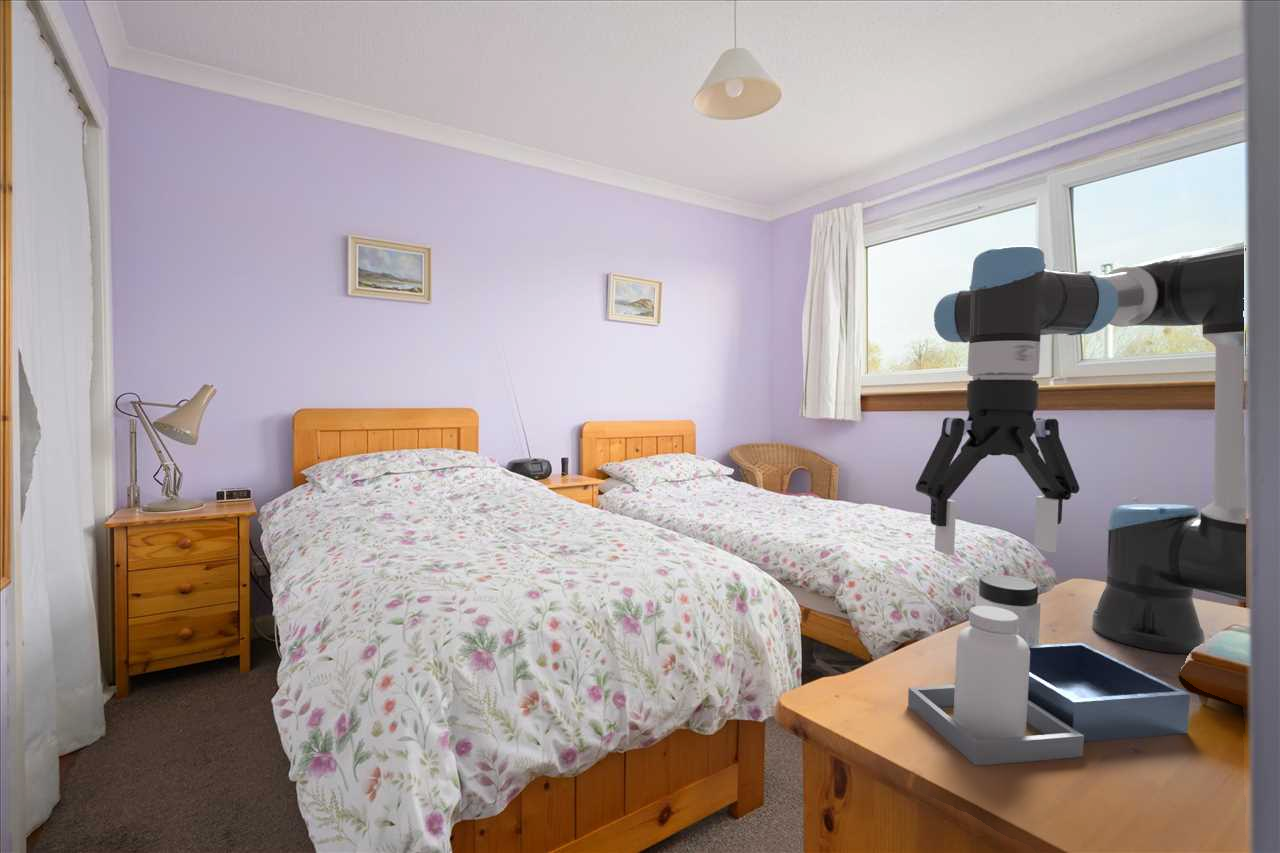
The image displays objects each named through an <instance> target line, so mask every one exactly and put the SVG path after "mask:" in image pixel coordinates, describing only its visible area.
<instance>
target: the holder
mask: <svg viewBox="0 0 1280 853" xmlns="http://www.w3.org/2000/svg"><path fill="white" fill-rule="evenodd" d="M954 694H955V684H947V685H945V684H943V685H931V686H917V687H916V686H913V687H908V694H907V695H908V697H907V700H908V701H907V702H908V703H907V706H908V708H910V709H911V710H912V711H913V712H914V713H915V714H917V715H918V716H919V717H920V718H921V719H922V720H924V721H925V723H927V724H928V725H929V726H930V727H931V728H933V729H934V730H935V731H936V732H937V733H938V734H939V735H940V736H942V738H944V739H945V740H946V741H947V742H948V743H949V744H950V745H951V746H953V747H954V748H955V749H956V750H957V751H958V752H960V754H962V756H964V757H965V758H967V760H968V761H970V762H971V763H972V764H973V766H975V767H977V766H978V767H980V766H988V765H990V766H991V765H999V764H1012V763H1024V762H1037V761H1039V762H1040V761H1048V760H1060V759H1071V758H1072V759H1073V758H1083V757H1084V746H1085V745H1084V736H1083V735H1082V734H1080V733H1079V732H1077V731H1076V730H1074V729H1073V728H1071V727H1070V726H1068V725H1067V724H1065V723H1063V722H1062V721H1060V720H1059V719H1057V718H1056V717H1054V716H1053V715H1051V714H1050V713H1048V712H1046V711H1045V710H1043V709H1042V708H1040V707H1039V706H1037V705H1036V704H1034V703H1033V702H1031V701H1030V700H1028V702H1027V721H1026V724H1029V725H1030V726H1031V727H1032V728H1035V729H1036V730H1037V731H1039V732H1040V733H1042V734H1037V735H1025V736H1022V737H1009V738H997V739H984V740H978V739H976V738H975V737H974V736H973V735H972V734H970V733H969V732H968V731H967V730H965V729H964V728H963V727H962V726H961V725H959V724H958V723H957V722H956V721H954V718H952V716H949V715H948V714H947V713H946V712H945V711H944V710H942V709H941V708H942V707H954Z"/></svg>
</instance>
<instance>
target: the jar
mask: <svg viewBox="0 0 1280 853" xmlns="http://www.w3.org/2000/svg"><path fill="white" fill-rule="evenodd" d="M978 579H979V580H978V592H977V593H976V594H975V603H974V604H975V606H992V607H998V608H1002V609H1006V610H1009V611H1011V612H1013V613H1015V614H1016V615H1017V616H1018V618H1019V625H1018V631H1019V632H1018V634H1017V635H1019V636H1020V637H1021V638H1023V639H1024V640H1025V641H1026V643H1027V644H1028V646H1031V645H1040V626H1041V625H1040V623H1041V602H1040V601H1039V600H1038V598H1039V586H1038V585H1037V584H1036V583H1035V582H1033V581H1031V580H1028V579H1025V578H1021V577H1018V576H1017V577H1016V576H1010V575H1004V574H1003V575H1002V574H989V575H982V576H980V578H978ZM975 606H974V607H975Z"/></svg>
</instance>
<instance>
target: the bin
mask: <svg viewBox="0 0 1280 853" xmlns="http://www.w3.org/2000/svg"><path fill="white" fill-rule="evenodd" d="M1029 650H1030V666H1029V684H1028V700H1030V701H1031V702H1033V703H1034V704H1036V705H1037V706H1039V707H1040V708H1042V709H1043V710H1045V711H1046V712H1048V713H1050V714H1051V715H1053V716H1054V717H1056V718H1057V719H1059V720H1060V721H1062V722H1063V723H1065V724H1067V725H1068V726H1070V727H1071V728H1073V729H1074V730H1076V731H1077V732H1079V733H1080V734H1082V735H1083V736H1084V742H1085V743H1086V742H1095V741H1098V742H1099V741H1106V740H1107V741H1108V740H1110V741H1111V740H1119V739H1120V740H1121V739H1133V738H1142V737H1143V738H1145V737H1146V738H1147V737H1158V736H1170V735H1171V736H1172V735H1182V734H1188V731H1189V714H1190V697H1191V696H1190V695H1191V694H1190V693H1189V692H1186V691H1184V690H1182V689H1180V688H1178V687H1176V686H1173V685H1172V684H1169V683H1167V682H1165V681H1163V680H1160V679H1159V678H1157V677H1155V676H1154V675H1150V674H1148V673H1147V672H1145V671H1142V670H1140V669H1138V668H1135V667H1134V666H1131V665H1130V664H1128V663H1125V662H1124V661H1121V660H1120V659H1117V658H1115V657H1112V656H1110V655H1108V654H1106V653H1104V652H1103V651H1101V650H1098V649H1096V648H1094V647H1092V646H1090V645H1087V644H1085V643H1084V642H1069V643H1052V644H1049V643H1048V644H1039V645H1031V646H1029Z"/></svg>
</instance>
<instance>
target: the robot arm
mask: <svg viewBox="0 0 1280 853" xmlns="http://www.w3.org/2000/svg"><path fill="white" fill-rule="evenodd" d="M1244 242H1245V241H1241V242H1236V243H1235V242H1234V243H1230V244H1225V245H1219V246H1214V247H1210V248H1203V249H1199V250H1192V251H1186V252H1181V253H1178V254H1173V255H1170V256H1169V255H1168V256H1165V257H1162V258H1158V259H1154V260H1152V261H1151V260H1150V261H1147V262H1144V263H1140V264H1139V263H1138V264H1136V265H1132V266H1131V265H1130V266H1129V265H1128V266H1123V267H1118V268H1115V269H1113V270H1111V271H1109V272H1108V273H1106V274H1105V275H1092V274H1090V273H1087V272H1079V273H1077V272H1069V271H1067V272H1066V271H1057V270H1055V271H1054V270H1048V269H1046V266H1047V263H1045V254H1044V250H1042V249H1040V247H1037V246H1035V245H1034V246H1033V245H1011V246H1009V245H1008V246H1002V247H997V248H993V249H989V250H985V251H983V252H981V253H979V254H978V255H977V256H975V259H974V260H973V264H972V273H971V279H970V281H971V282H970V285H969V289H967V290H963V289H962V290H959V291H957V292H953V293H949V294H947V295H945V296H943V297H942V298H941V299H939V301H938V303H937V304H936V306H935V308H934V311H933V312H934V313H933V321H934V324H933V325H934V327H935V328H934V329H935V331H936V332H937V334H938V335H939V336H940V338H942V339H943V340H944V341H947V342H949V343H965V344H966V343H968V354H967V355H968V358H967V371H966V374H967V375H968V376H970V377H972V380H969V381H968V383H967V384H966V391H967V392H966V407H967V411H968V416H967V419H966V420H965V419H964V418H961V417H948V416H947V417H945V418H944V419H943V421H942V426H941V433H940V436H939V439H938V440H937V442H936V445H935V447H934V449H933V451H932V452H931V455H930V456H929V459H928V460H927V463H926V465H925V466H924V469H923V470H922V472H921V474H920V477H919V479H918V481H917V482H916V485H915V490H916V492H918V493H922V494H924V495H926V496H928V497H929V498H930V518H929V519H930V523H931V525H934V528H935V530H934V531H935V532H934V533H935V534H934V550H935V551H937V552H939V553H942V554H945V555H947V556H954V555H955V544H956V543H955V540H956V537H955V536H956V517H957V516H956V515H957V514H956V512H957V501H956V500H954V499H953V500H952V499H950V498H951V497H952V496H953V494H954V493H955V492H957V490H958V488H959V487H960V486H961V485H962V484H963V483H964V481H965V480H966V478H967V477H968V476H969V475H970V473H972V472H973V470H974V469H975V467H976V466H978V464H979V462H981V461H982V460H983V459H985V458H987V457H988V456H1001V455H1005V456H1013V457H1014V458H1016V459H1017V461H1018V462H1019V463H1020V464H1021V466H1022V468H1024V471H1025V472H1026V473H1027V474H1028V475H1029V477H1030V478H1031V480H1032V481H1033V483H1034V484H1035V485H1036V487H1037V488H1038V489H1039V490H1040V492H1041V494H1042V496H1041V495H1036V496H1035V512H1034V515H1035V516H1034V538H1033V548H1034V549H1039V550H1041V551H1044V552H1048V553H1057V542H1058V541H1057V540H1058V538H1057V537H1058V525H1061V523H1062V519H1063V501H1064V500H1065V501H1069V500H1070V499H1071V498H1072V494H1077V493H1079V491H1080V485H1079V483H1078V481H1077V478H1076V475H1075V473H1074V470H1073V468H1072V466H1071V463H1070V460H1069V458H1068V455H1067V453H1066V451H1065V448H1064V445H1063V443H1062V441H1061V437H1060V431H1059V430H1060V428H1059V421H1058V420H1057V419H1056V418H1049V417H1048V418H1046V417H1045V418H1043V417H1038V418H1036V419H1035V418H1034V412H1035V411H1036V410H1037V409H1038V407H1039V406H1038V405H1039V404H1038V403H1039V385H1040V384H1039V383H1038V382H1037V380H1033V377H1034V376H1035V377H1036V376H1038V374H1040V356H1041V336H1047V335H1062V334H1063V335H1067V336H1077V335H1078V336H1080V335H1089V334H1094V333H1096V332H1098V331H1102V329H1104V328H1105V327H1107V326H1108V325H1110V326H1112V327H1113V326H1114V327H1120V328H1121V327H1122V328H1123V327H1125V328H1126V327H1132V326H1133V327H1134V326H1155V327H1157V326H1161V327H1163V326H1164V327H1184V326H1185V327H1186V326H1202V338H1204V339H1205V340H1206V341H1208V342H1210V343H1211V344H1212V345H1213V346H1214V348H1215V370H1214V372H1215V374H1214V376H1215V378H1214V383H1215V384H1214V439H1213V440H1214V442H1213V443H1214V446H1213V448H1214V451H1213V501H1212V502H1211V503H1209V504H1207V505H1206V506H1204V507H1203V508H1201V510H1200V513H1199V511H1198V508H1197V507H1196V506H1193V505H1187V504H1170V503H1169V504H1168V503H1167V504H1165V503H1145V504H1144V503H1143V504H1141V503H1140V504H1138V503H1137V504H1122V505H1117V506H1116V507H1114V508H1113V509H1112V510H1111V512H1110V515H1109V523H1108V527H1107V532H1108V533H1107V535H1108V536H1107V559H1106V560H1107V562H1106V581H1105V582H1106V584H1105V588H1104V589H1103V592H1102V595H1100V599H1099V601H1098V603H1097V606H1096V609H1094V611H1093V613H1092V622H1091V625H1092V629H1093V630H1094V631H1095V632H1097V633H1098V634H1100V635H1102V636H1103V637H1106V638H1108V639H1110V640H1112V641H1116V642H1118V643H1121V644H1125V645H1128V646H1132V647H1135V648H1140V649H1144V650H1149V651H1154V652H1163V653H1167V654H1168V653H1169V654H1170V653H1171V654H1192V653H1191V651H1192V650H1193V649H1194V648H1195V647H1197V646H1199V645H1200V644H1202V643H1204V644H1205V639H1206V638H1205V637H1206V636H1205V632H1204V630H1203V628H1202V627H1201V624H1200V620H1199V617H1198V613H1197V608H1196V606H1195V604H1194V603H1195V602H1194V599H1193V596H1194V595H1193V594H1194V590H1196V591H1201V592H1204V593H1209V594H1211V595H1212V594H1213V595H1216V596H1219V597H1225V598H1228V599H1233V600H1236V601H1240V602H1242V603H1247V600H1246V475H1245V436H1244V413H1243V397H1244V317H1243V311H1244V299H1243V298H1244ZM1245 247H1246V245H1245ZM1245 251H1246V248H1245ZM1245 356H1246V331H1245ZM967 434H968V436H969V437H968V439H967V440H966V441H965V443H964V444H963V445H961V443H962V440H963V437H964V436H966V435H967ZM1033 435H1034V436H1035V439H1036V443H1037V445H1038V447H1037V446H1036V444H1035V442H1033V440H1032V439H1031V437H1032V436H1033ZM960 445H961V448H960ZM959 448H960V452H959V453H958V454H957V455H956V453H957V451H958V450H959ZM1038 448H1039V449H1038ZM1039 452H1040V453H1041V455H1040V453H1039ZM955 455H956V457H955ZM1041 456H1042V457H1043V458H1042V457H1041ZM954 457H955V458H954ZM1199 515H1200V516H1199ZM1247 604H1248V603H1247Z"/></svg>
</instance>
